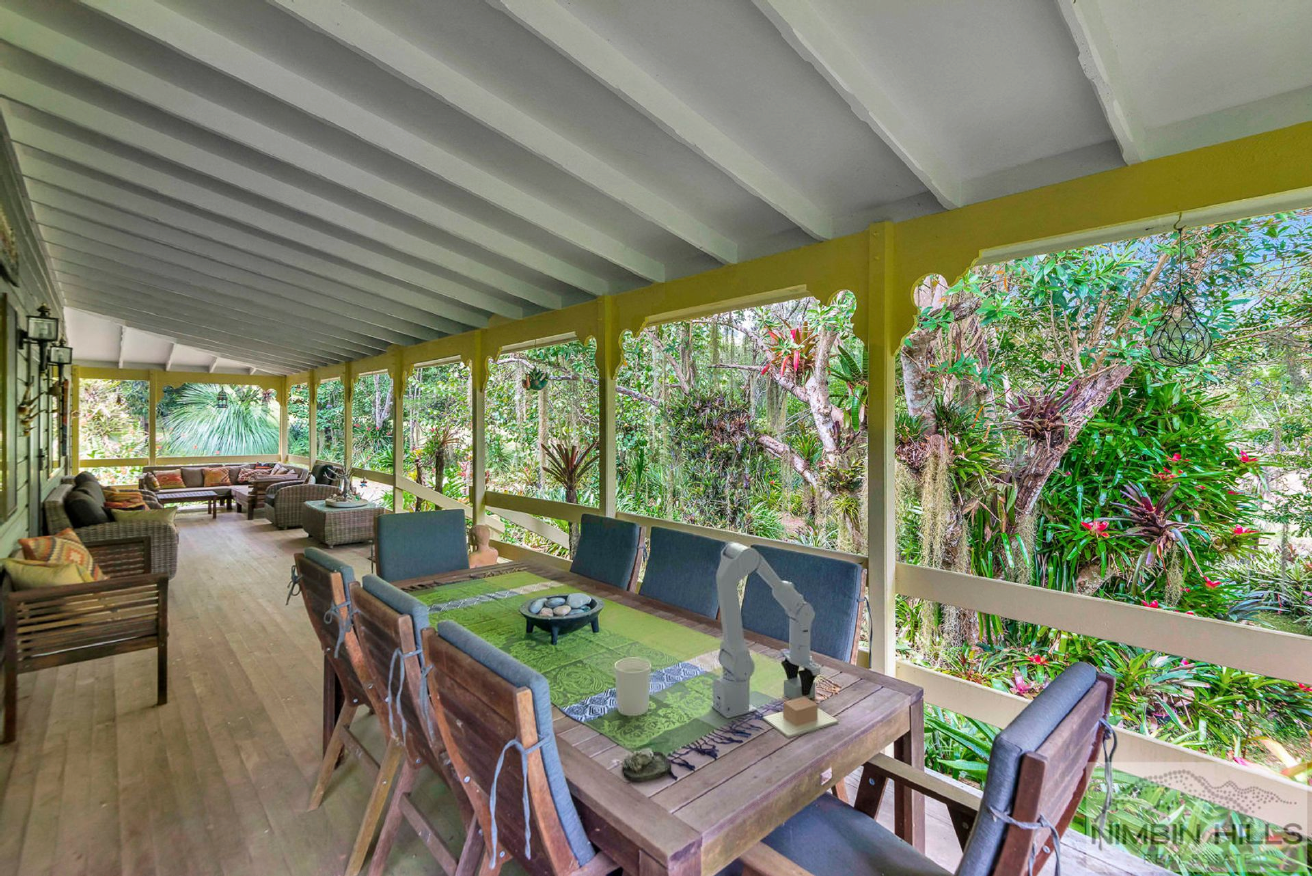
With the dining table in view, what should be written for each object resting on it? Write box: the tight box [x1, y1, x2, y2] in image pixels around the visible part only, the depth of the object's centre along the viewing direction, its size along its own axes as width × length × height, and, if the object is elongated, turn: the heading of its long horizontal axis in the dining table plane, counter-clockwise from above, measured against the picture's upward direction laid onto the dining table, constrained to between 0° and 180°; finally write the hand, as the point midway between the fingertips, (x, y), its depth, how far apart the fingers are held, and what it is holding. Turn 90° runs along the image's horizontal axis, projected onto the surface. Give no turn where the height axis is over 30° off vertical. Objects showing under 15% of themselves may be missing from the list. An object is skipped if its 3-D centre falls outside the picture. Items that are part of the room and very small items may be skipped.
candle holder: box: [614, 656, 652, 717], centre depth 156 cm, size 10×10×12 cm
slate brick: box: [783, 676, 816, 700], centre depth 163 cm, size 7×5×4 cm
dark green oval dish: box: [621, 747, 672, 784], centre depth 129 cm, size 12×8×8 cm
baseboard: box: [762, 707, 839, 739], centre depth 149 cm, size 16×10×1 cm, turn 116°
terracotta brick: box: [782, 696, 819, 726], centre depth 149 cm, size 7×5×4 cm
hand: (799, 690), depth 163 cm, fingers closed on slate brick, 5 cm apart
